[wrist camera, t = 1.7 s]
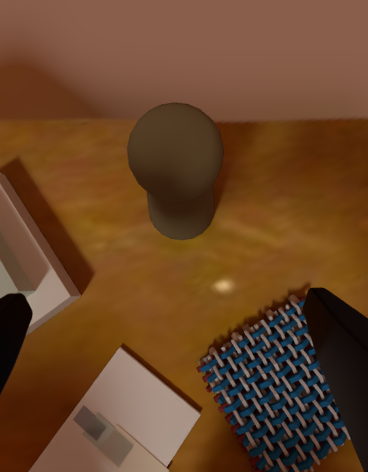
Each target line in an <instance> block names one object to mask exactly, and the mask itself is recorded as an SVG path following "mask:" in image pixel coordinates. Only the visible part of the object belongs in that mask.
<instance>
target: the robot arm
mask: <svg viewBox="0 0 368 472" xmlns="http://www.w3.org/2000/svg"><path fill="white" fill-rule="evenodd" d="M303 313H304V317H305V320H306V323H307V327H308V330H309V333H310V337H311V340H312V343H313V347H314V350H315V353H316V356H317V359H318V362H319V365H320V367H321V370H322V372H323V374H324V377H325V379H326V382H327V384H328V386H329V389H330V391H331V394H332V396H333V398H334V401H335V403H336V405H337V408H338V410H339V413H340V415H341V417H342V420H343V422H344V424H345V427H346V429H347V432H348V434H349V436H350V439H351V441H352V444H353V446H354V448H355V451H356V453H357V455H358V458H359V460H360V463H361V465H362V467H363V470H364V472H368V318H367V317H365V316H364V315H362V314H361V313H360V312H358V311H357V310H355V309H354V308H352V307H351V306H350V305H348V304H347V303H345V302H344V301H342V300H341V299H340V298H338V297H337V296H335V295H334V294H333V293H331V292H330V291H328V290H327V289H325V288H310V289H309V290H308V292H307V295H306V299H305V302H304V305H303ZM32 316H33V311H32V309H31V307H30V305H29V303H28V301H27V299H26V297H25V295H24V294H22V293H9V294H6V295H5V296H3V297H1V298H0V395H1V393H2V391H3V389H4V387H5V384H6V382H7V380H8V378H9V376H10V374H11V372H12V370H13V367H14V365H15V363H16V360H17V358H18V355H19V352H20V350H21V347H22V344H23V342H24V339H25V336H26V333H27V331H28V328H29V325H30V322H31V320H32Z"/></svg>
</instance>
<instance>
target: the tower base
mask: <svg viewBox="0 0 368 472" xmlns="http://www.w3.org/2000/svg"><path fill="white" fill-rule="evenodd" d="M9 293H22V294H24V295H25V297H26V299H27V301H28V303H29V305H30V307H31V309H32V311H33V316H32V320H31V322H30V325H29V328H28V331H27V333H26V336H27V335H28V334H30V333H31V332H33V331H34V330H35V329H37V328H38V327H39V326H41V325H42V324H43V323H45V322H46V321H48V320H49V319H50V318H52V317H53V316H54V315H56V314H57V313H59V312H60V311H61V310H63V309H64V308H65V307H67V306H68V305H70V304H71V303H72V302H74V301H75V300H76V299H78V298H79V297H81V294H80V293H79V291H78V289H77V288H76V286H75V285H74V283H73V282H72V280H71V278H70V277H69V275H68V274H67V272H66V271H65V269H64V267H63V266H62V264H61V263H60V261H59V260H58V258H57V256H56V255H55V253H54V252H53V250H52V249H51V247H50V245H49V244H48V242H47V241H46V239H45V237H44V236H43V234H42V233H41V231H40V230H39V228H38V226H37V225H36V223H35V222H34V220H33V219H32V217H31V215H30V214H29V212H28V211H27V209H26V208H25V206H24V204H23V203H22V201H21V200H20V198H19V197H18V195H17V193H16V192H15V190H14V189H13V187H12V186H11V184H10V182H9V181H8V179H7V178H6V176H5V175H4V174H2V173H1V172H0V298H1V297H3V296H5V295H6V294H9ZM26 336H25V337H26Z"/></svg>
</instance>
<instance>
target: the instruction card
mask: <svg viewBox="0 0 368 472" xmlns="http://www.w3.org/2000/svg"><path fill="white" fill-rule="evenodd" d="M200 415H201V414H200V412H199V411H198V410H196V409H195V408H194V407H193V406H192V405H190V404H189V403H188V402H187V401H186V400H184V399H183V398H182V397H181V396H180V395H178V394H177V393H176V392H175V391H174V390H172V389H171V388H170V387H169V386H167V385H166V384H165V383H164V382H163V381H161V380H160V379H159V378H158V377H157V376H155V375H154V374H153V373H152V372H151V371H149V370H148V369H147V368H146V367H145V366H143V365H142V364H141V363H140V362H138V361H137V360H136V359H135V358H134V357H132V356H131V355H130V354H129V353H128V352H126V351H125V350H124V349H123V348H122V347H119V349H118V350H117V351H116V353H115V354H114V356H113V357H112V358H111V360H110V361H109V362H108V364H107V365H106V366H105V368H104V369H103V371H102V372H101V373H100V375H99V376H98V377H97V379H96V380H95V381H94V383H93V384H92V386H91V387H90V388H89V390H88V391H87V392H86V394H85V395H84V397H83V398H82V399H81V401H80V402H79V403H78V405H77V406H76V407H75V409H74V410H73V412H72V413H71V414H70V416H69V417H68V418H67V420H66V421H65V422H64V424H63V425H62V427H61V428H60V429H59V431H58V432H57V433H56V435H55V436H54V437H53V439H52V440H51V442H50V443H49V444H48V446H47V447H46V448H45V450H44V451H43V452H42V454H41V455H40V457H39V458H38V459H37V461H36V462H35V463H34V465H33V466H32V467H31V469H30V470H29V472H169V471H170V470H169V469H168V468H166V467H167V466H168V464H169V463H170V461H171V460H172V458H173V457H174V455H175V453H176V452H177V450H178V449H179V447H180V446H181V444H182V443H183V441H184V440H185V438H186V436H187V435H188V433H189V432H190V430H191V429H192V427H193V426H194V424H195V422H196V421H197V419H198V418H199V416H200Z"/></svg>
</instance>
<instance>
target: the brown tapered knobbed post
mask: <svg viewBox="0 0 368 472" xmlns="http://www.w3.org/2000/svg"><path fill="white" fill-rule="evenodd" d="M127 153H128V160H129V167H130V169H131V171H132V172H133V174H134V176H135V178H136V180H137V182H138V184H139V185H141V186H142V187H143V188H144V189H145V190H146V191H147V199H148V208H149V215H150V219H151V221H152V223H153V225H154V227H155V228H156V229H157V230H158V231H159V232H160V233H161V234H163V235H165V236H167V237H169V238H171V239H177V240H186V239H192V238H194V237H196V236H198V235H200V234H202V233H203V232H204V231H205V230H206V229H207V228H208V227H209V225H210V223H211V221H212V219H213V217H214V210H215V204H214V194H213V185H212V184H213V183H214V182H215V180H216V178H217V176H218V174H219V172H220V170H221V167H222V162H223V154H224V148H223V143H222V139H221V135H220V131H219V129H218V128H217V126H216V125H215V123H214V122H213V120H212V119H211V118H210V117H209V116H207V115H206V114H205V113H204V112H202V111H201V110H200V109H198V108H196V107H193V106H191V105H189V104H183V103H169V104H162V105H159V106H157V107H155V108H153V109H151V110H149V111H148V112H147V113H146V114H144V115H143V116H142V117H141V118H140V119H139V120H138V122H137V123H136V125H135V127H134V128H133V130H132V132H131V133H130V137H129V142H128V147H127Z"/></svg>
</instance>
